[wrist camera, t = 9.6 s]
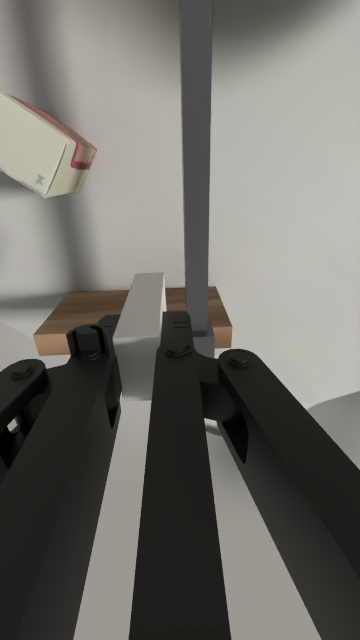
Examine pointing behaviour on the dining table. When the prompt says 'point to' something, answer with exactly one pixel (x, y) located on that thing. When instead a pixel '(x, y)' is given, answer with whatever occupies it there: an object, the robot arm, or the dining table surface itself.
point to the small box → (41, 149)
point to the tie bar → (196, 162)
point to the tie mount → (100, 303)
